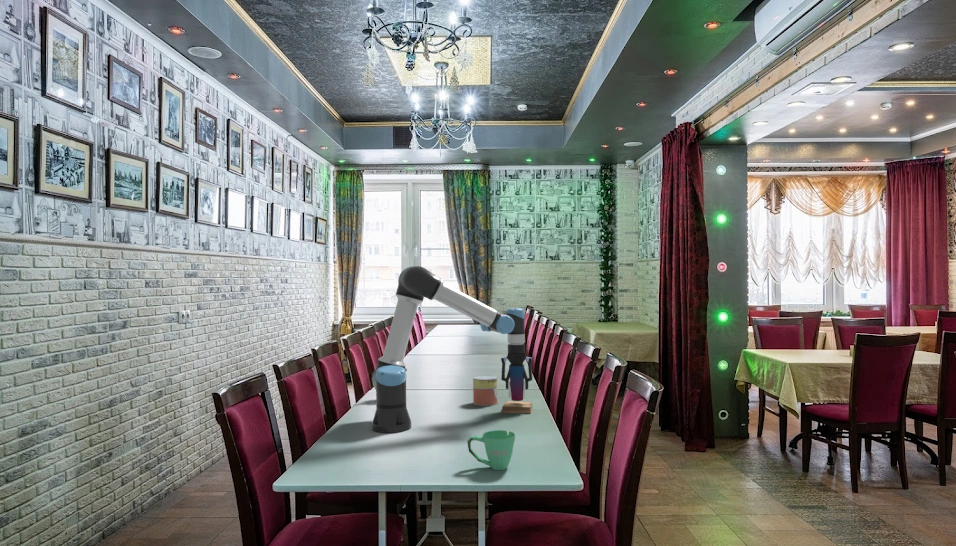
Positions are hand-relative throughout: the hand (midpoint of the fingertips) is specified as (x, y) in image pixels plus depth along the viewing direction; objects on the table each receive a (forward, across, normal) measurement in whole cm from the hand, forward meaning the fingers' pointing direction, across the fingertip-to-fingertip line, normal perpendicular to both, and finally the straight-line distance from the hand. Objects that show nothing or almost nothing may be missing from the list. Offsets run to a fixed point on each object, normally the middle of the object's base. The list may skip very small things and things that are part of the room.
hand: (517, 396), depth 255 cm
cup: (+2, 0, 0) cm, 2 cm away
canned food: (+6, +16, -13) cm, 21 cm away
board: (+6, 0, 0) cm, 6 cm away
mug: (+6, +1, +79) cm, 79 cm away
